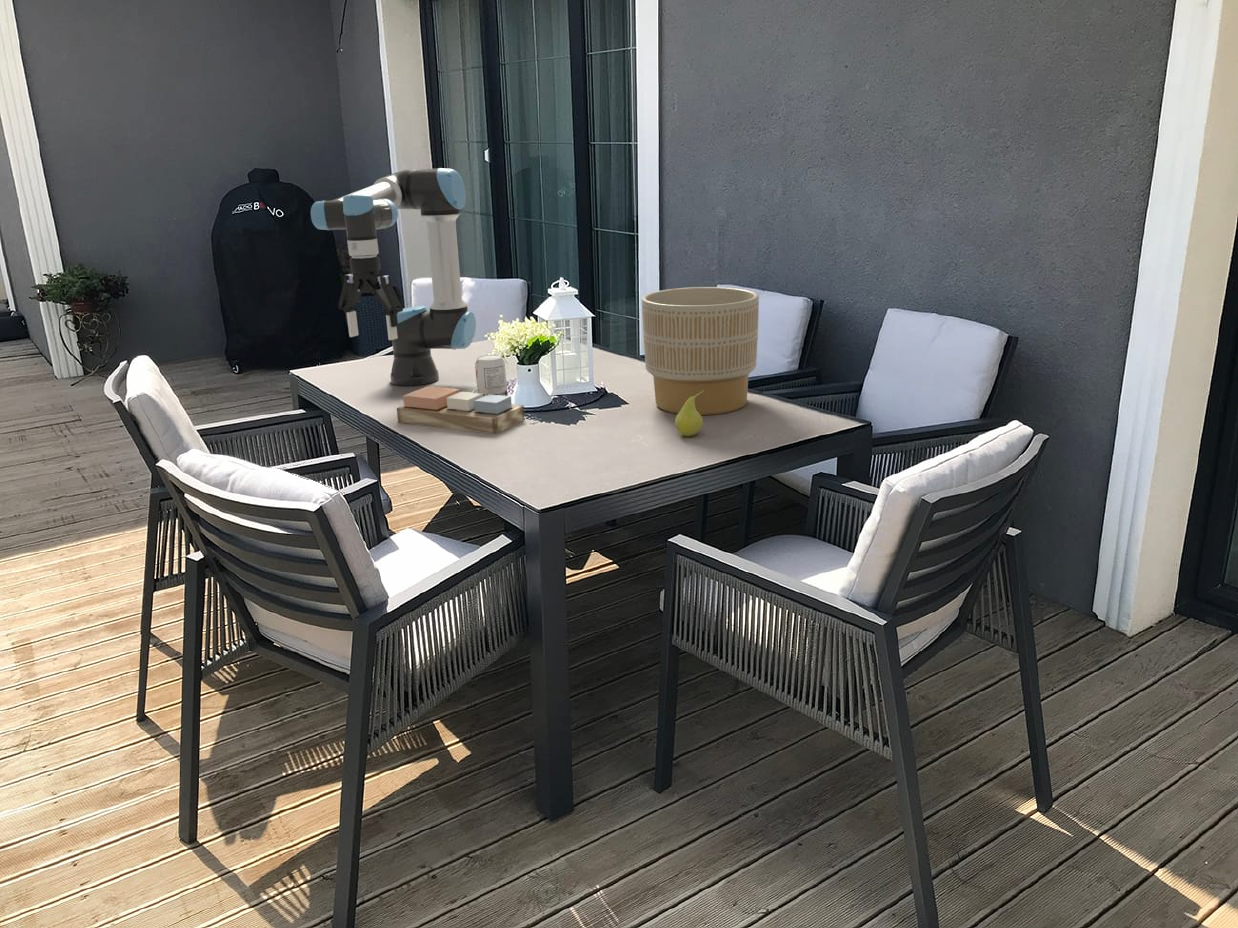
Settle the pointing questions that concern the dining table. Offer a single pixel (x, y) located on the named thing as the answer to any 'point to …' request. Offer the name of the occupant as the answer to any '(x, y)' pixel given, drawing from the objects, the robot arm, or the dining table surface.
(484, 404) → the key slate
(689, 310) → the planter
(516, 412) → the wooden compartment tray
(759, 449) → the dining table surface
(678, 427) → the fruit
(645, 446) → the dining table surface
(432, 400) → the key terracotta
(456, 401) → the key ivory
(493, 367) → the supplement can
